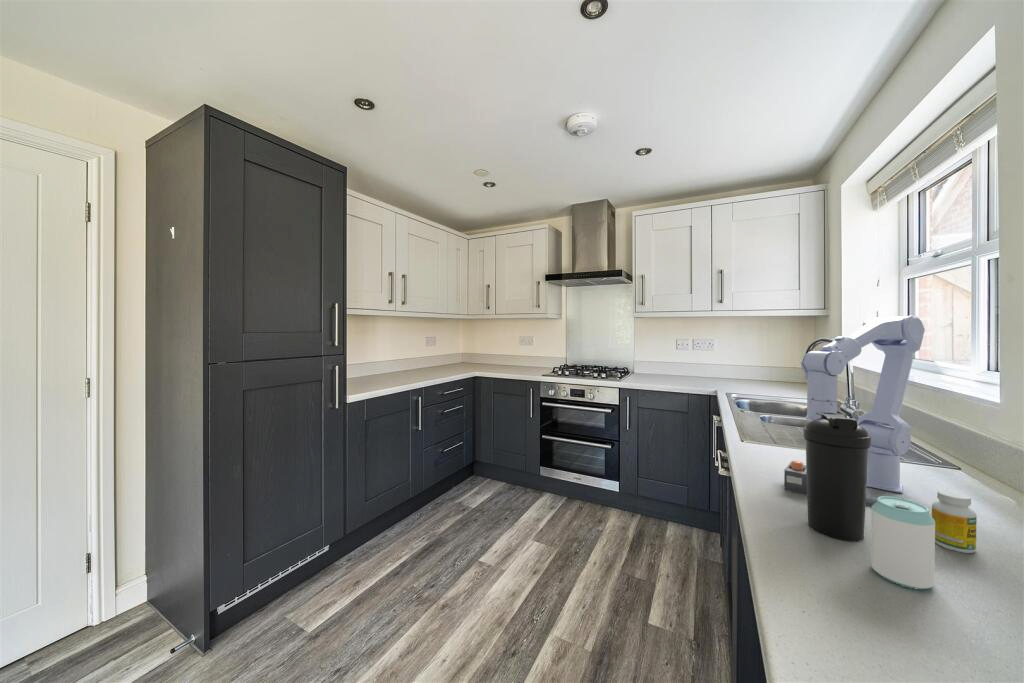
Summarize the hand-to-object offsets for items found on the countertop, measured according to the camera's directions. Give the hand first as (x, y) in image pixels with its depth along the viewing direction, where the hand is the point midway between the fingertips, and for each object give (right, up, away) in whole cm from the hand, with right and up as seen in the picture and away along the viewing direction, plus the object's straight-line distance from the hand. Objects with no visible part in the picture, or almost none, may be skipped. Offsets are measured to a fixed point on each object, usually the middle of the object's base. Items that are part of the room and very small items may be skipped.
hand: (821, 454), depth 93 cm
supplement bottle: (+5, -10, -23) cm, 26 cm away
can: (-14, -10, -33) cm, 37 cm away
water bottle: (-12, -10, -18) cm, 23 cm away
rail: (+5, -10, -5) cm, 12 cm away
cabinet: (-3, -9, +3) cm, 10 cm away
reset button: (-3, -7, +4) cm, 8 cm away
